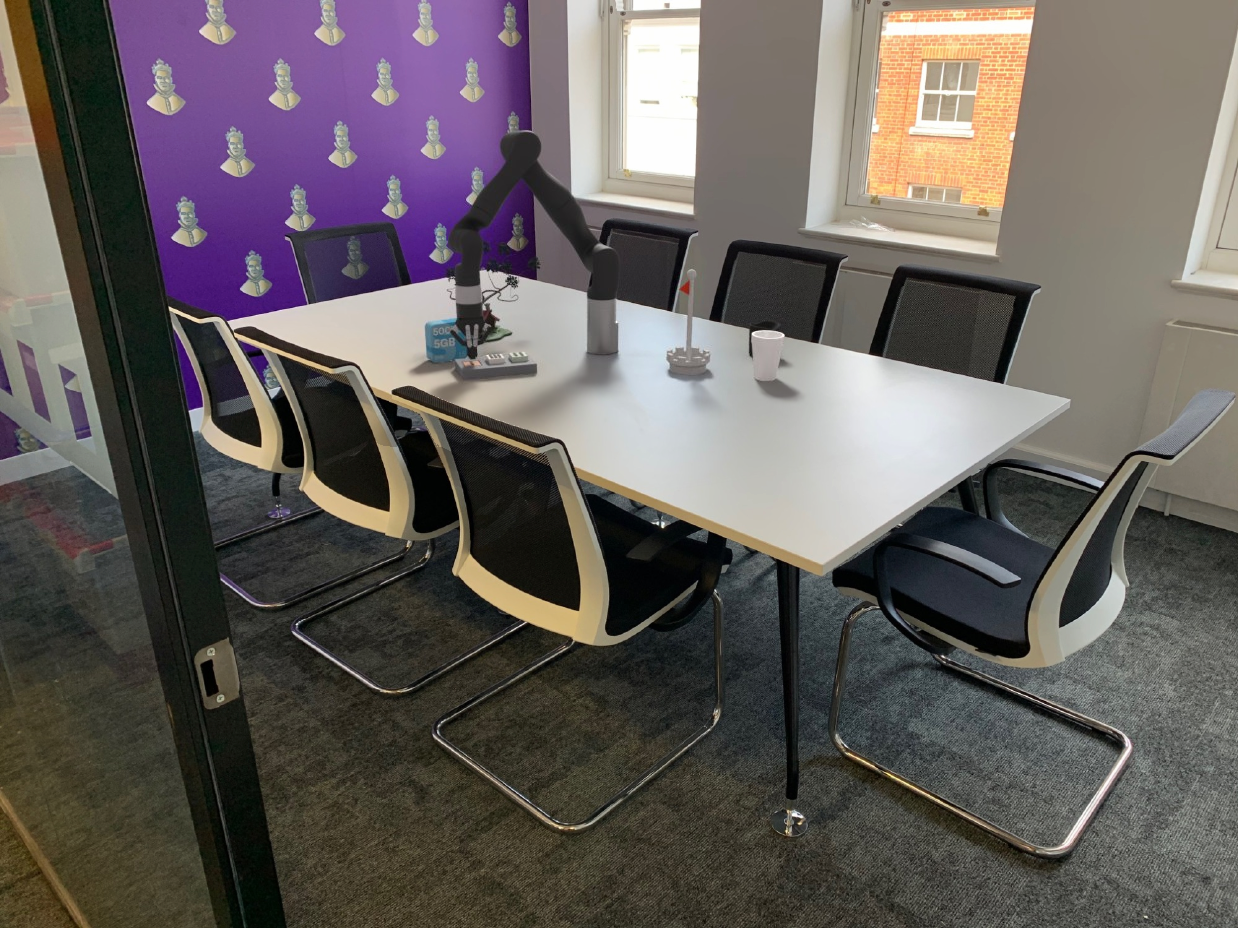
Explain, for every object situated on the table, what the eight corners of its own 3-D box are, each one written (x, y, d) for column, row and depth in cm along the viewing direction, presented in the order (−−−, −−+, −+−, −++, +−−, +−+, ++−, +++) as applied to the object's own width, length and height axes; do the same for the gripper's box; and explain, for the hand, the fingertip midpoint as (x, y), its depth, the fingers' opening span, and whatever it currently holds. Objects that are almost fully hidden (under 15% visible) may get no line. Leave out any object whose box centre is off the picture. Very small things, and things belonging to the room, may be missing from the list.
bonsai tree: (484, 352, 298) (479, 251, 286) (432, 339, 312) (426, 242, 300) (559, 332, 323) (557, 238, 311) (508, 320, 338) (505, 230, 325)
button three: (501, 363, 282) (500, 353, 281) (505, 367, 278) (504, 357, 277) (486, 365, 281) (485, 354, 279) (489, 369, 277) (489, 358, 275)
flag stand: (686, 360, 292) (689, 263, 281) (718, 369, 284) (723, 269, 272) (657, 369, 284) (659, 269, 273) (689, 378, 275) (693, 275, 264)
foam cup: (760, 384, 271) (764, 340, 266) (742, 375, 279) (745, 332, 274) (787, 380, 275) (791, 336, 270) (768, 371, 283) (772, 329, 278)
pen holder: (776, 360, 294) (779, 328, 290) (746, 358, 296) (748, 326, 292) (778, 352, 303) (780, 321, 299) (748, 350, 304) (750, 319, 301)
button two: (524, 361, 284) (523, 351, 283) (528, 365, 280) (527, 355, 279) (509, 362, 283) (508, 352, 282) (513, 367, 279) (512, 356, 278)
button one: (478, 370, 280) (477, 360, 279) (481, 374, 276) (481, 364, 275) (463, 372, 279) (462, 361, 278) (466, 376, 275) (465, 365, 274)
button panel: (526, 362, 289) (526, 353, 288) (537, 373, 278) (536, 363, 277) (454, 369, 282) (454, 359, 280) (463, 380, 271) (462, 370, 270)
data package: (432, 364, 286) (429, 325, 282) (426, 360, 290) (424, 322, 285) (468, 358, 292) (466, 320, 288) (462, 355, 296) (460, 317, 291)
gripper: (488, 295, 275) (491, 353, 281) (443, 299, 270) (447, 357, 277) (494, 301, 268) (497, 360, 275) (448, 304, 264) (452, 364, 271)
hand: (472, 358), depth 276 cm, fingers closed
